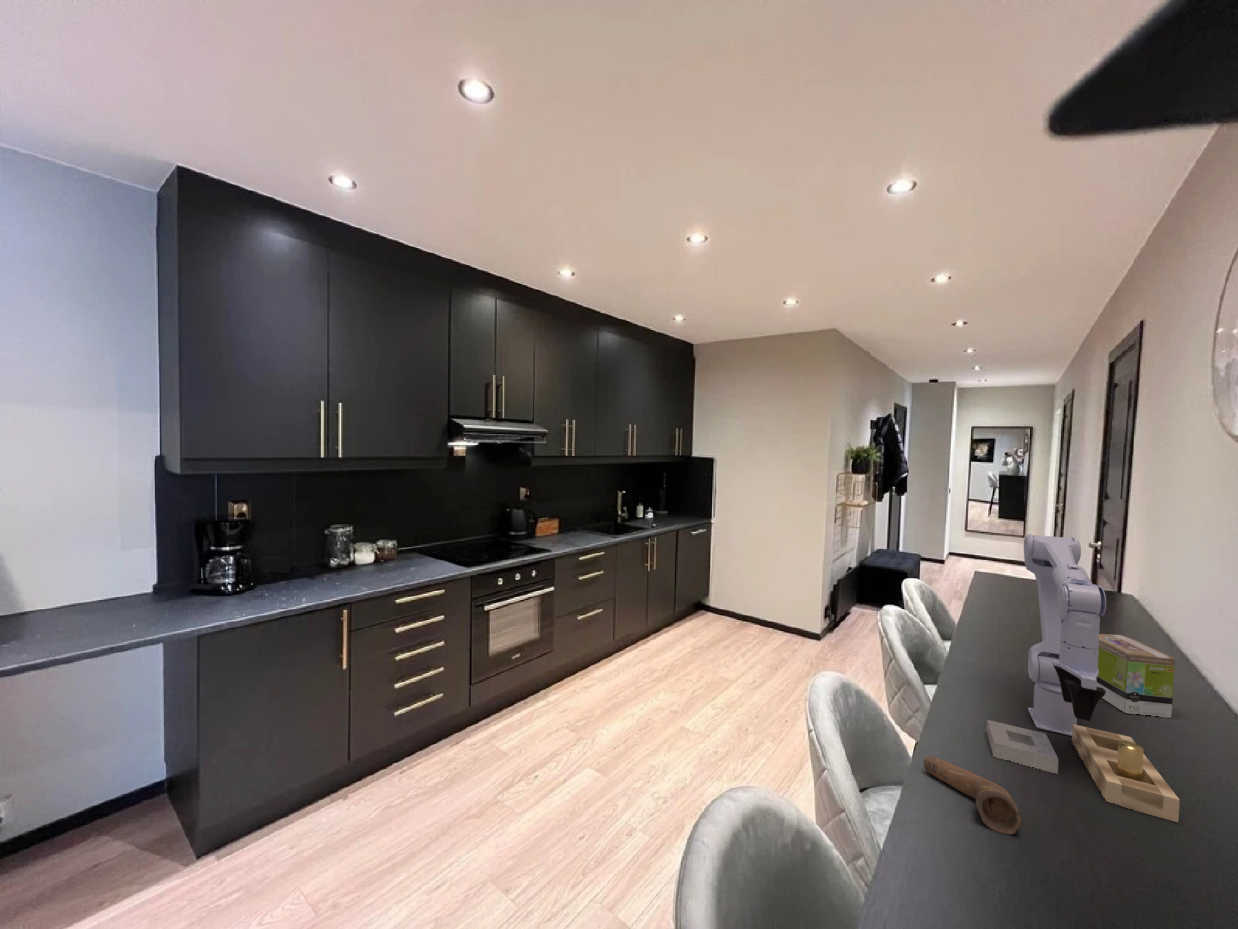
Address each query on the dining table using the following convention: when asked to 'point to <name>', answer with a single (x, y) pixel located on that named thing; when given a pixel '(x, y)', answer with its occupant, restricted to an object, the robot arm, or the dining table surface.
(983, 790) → the pipe
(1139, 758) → the tan brown peg
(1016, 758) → the socket block
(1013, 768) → the dining table surface
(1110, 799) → the rack
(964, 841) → the dining table surface
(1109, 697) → the tea box
